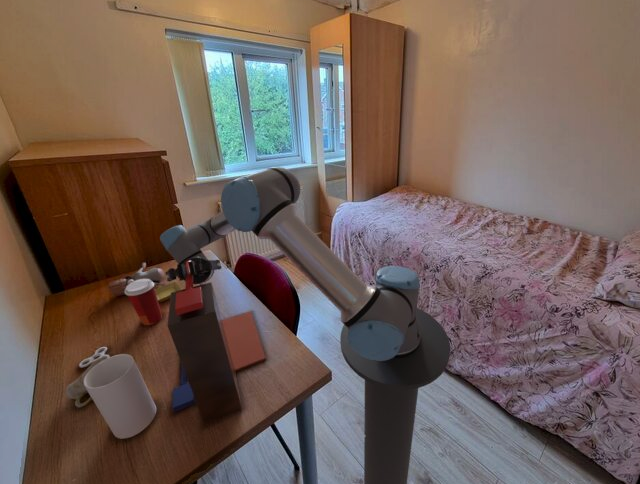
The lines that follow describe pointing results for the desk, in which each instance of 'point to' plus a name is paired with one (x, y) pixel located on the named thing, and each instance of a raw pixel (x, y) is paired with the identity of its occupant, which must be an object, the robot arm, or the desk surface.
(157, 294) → the yellow square tray
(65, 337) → the desk surface
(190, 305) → the red spatula
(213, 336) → the stand
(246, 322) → the mat
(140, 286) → the paper cup
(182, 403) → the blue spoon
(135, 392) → the cup
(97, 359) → the fidget spinner
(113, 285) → the anime character
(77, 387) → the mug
